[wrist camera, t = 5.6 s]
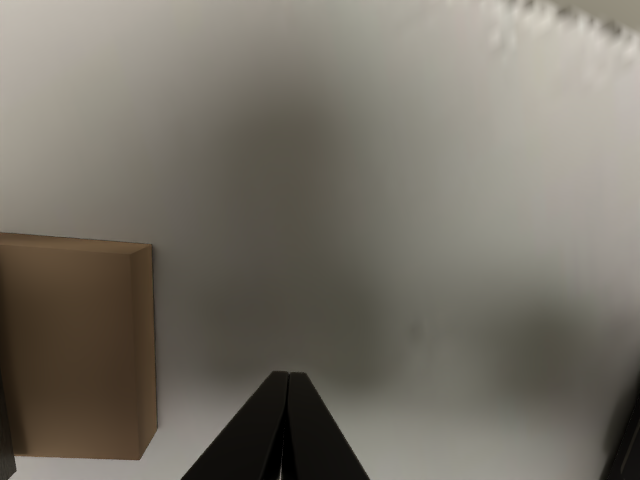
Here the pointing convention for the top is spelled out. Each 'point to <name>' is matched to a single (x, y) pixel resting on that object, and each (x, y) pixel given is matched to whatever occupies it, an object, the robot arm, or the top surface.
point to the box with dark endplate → (5, 440)
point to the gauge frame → (77, 346)
